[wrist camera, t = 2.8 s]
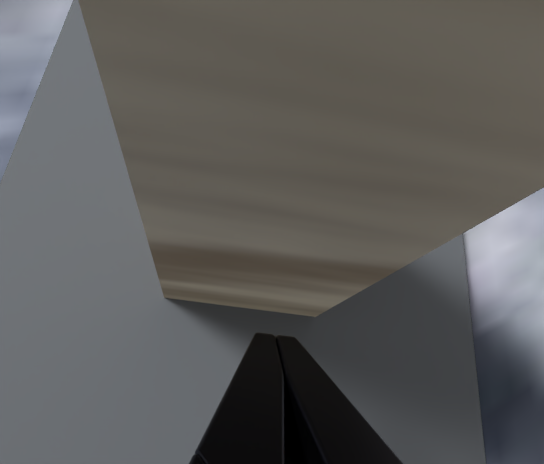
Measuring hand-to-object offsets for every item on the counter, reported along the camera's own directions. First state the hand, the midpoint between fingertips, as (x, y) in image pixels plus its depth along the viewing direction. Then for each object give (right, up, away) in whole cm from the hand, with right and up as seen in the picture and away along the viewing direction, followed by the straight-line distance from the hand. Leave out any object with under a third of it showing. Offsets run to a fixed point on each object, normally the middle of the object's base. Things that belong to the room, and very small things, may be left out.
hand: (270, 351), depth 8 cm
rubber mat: (-1, +4, +10) cm, 11 cm away
